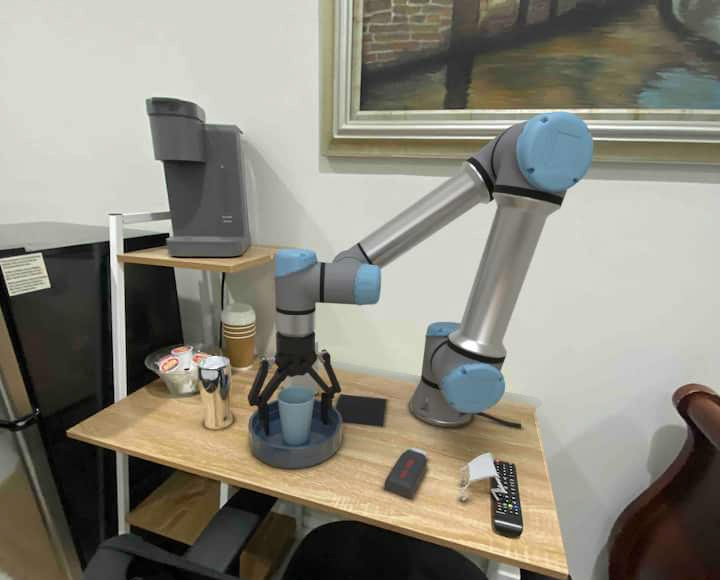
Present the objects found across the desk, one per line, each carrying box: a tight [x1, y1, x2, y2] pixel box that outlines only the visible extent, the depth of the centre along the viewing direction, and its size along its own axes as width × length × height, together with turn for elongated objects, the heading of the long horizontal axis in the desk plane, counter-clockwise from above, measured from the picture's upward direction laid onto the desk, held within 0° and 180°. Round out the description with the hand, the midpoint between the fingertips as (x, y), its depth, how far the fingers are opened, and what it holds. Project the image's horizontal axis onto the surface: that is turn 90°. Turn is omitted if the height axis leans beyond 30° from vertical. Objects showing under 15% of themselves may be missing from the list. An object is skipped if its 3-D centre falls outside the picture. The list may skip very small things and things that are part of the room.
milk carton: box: [282, 329, 319, 395], centre depth 101 cm, size 7×7×19 cm
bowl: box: [247, 398, 344, 469], centre depth 83 cm, size 19×19×5 cm
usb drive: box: [383, 446, 428, 500], centre depth 75 cm, size 5×12×3 cm, turn 154°
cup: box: [276, 386, 316, 445], centre depth 82 cm, size 8×8×10 cm
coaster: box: [335, 393, 387, 427], centre depth 97 cm, size 12×12×1 cm
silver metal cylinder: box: [196, 355, 234, 430], centre depth 86 cm, size 7×7×15 cm
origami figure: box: [457, 452, 507, 501], centre depth 73 cm, size 12×8×5 cm
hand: (296, 426), depth 83 cm, fingers open, 12 cm apart
